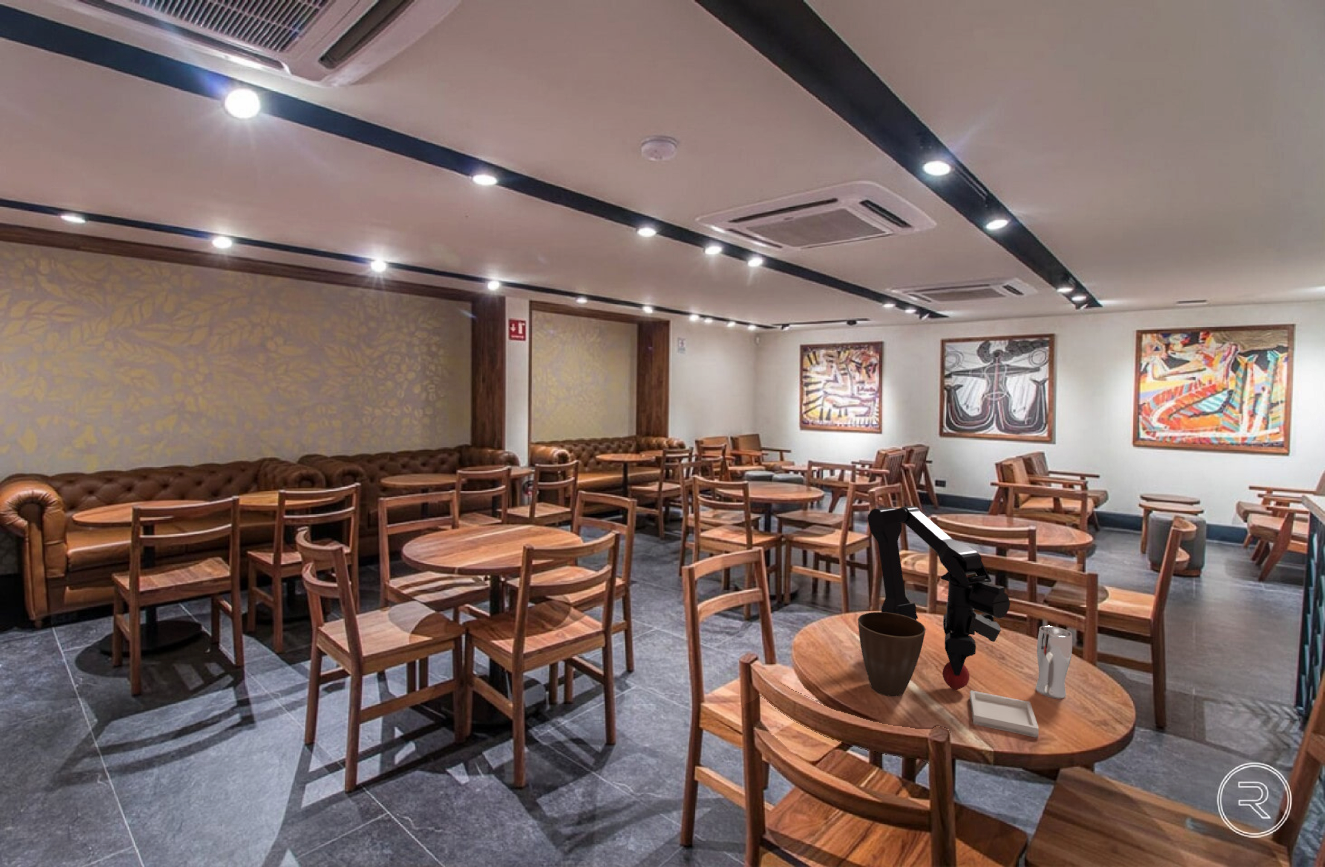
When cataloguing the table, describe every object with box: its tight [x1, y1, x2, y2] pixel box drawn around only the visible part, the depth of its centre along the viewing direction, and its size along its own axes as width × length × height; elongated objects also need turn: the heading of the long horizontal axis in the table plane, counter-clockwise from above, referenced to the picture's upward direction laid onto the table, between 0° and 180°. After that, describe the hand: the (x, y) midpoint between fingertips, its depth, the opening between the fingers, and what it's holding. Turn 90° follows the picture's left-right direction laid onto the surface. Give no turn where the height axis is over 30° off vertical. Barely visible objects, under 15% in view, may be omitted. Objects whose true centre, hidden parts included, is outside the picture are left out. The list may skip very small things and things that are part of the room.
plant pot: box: [857, 611, 926, 697], centre depth 147 cm, size 15×15×16 cm
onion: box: [942, 661, 971, 691], centre depth 148 cm, size 6×6×8 cm
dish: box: [969, 689, 1040, 739], centre depth 137 cm, size 12×12×2 cm
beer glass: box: [1035, 625, 1073, 700], centre depth 148 cm, size 7×7×15 cm
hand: (956, 666), depth 148 cm, fingers open, 9 cm apart
